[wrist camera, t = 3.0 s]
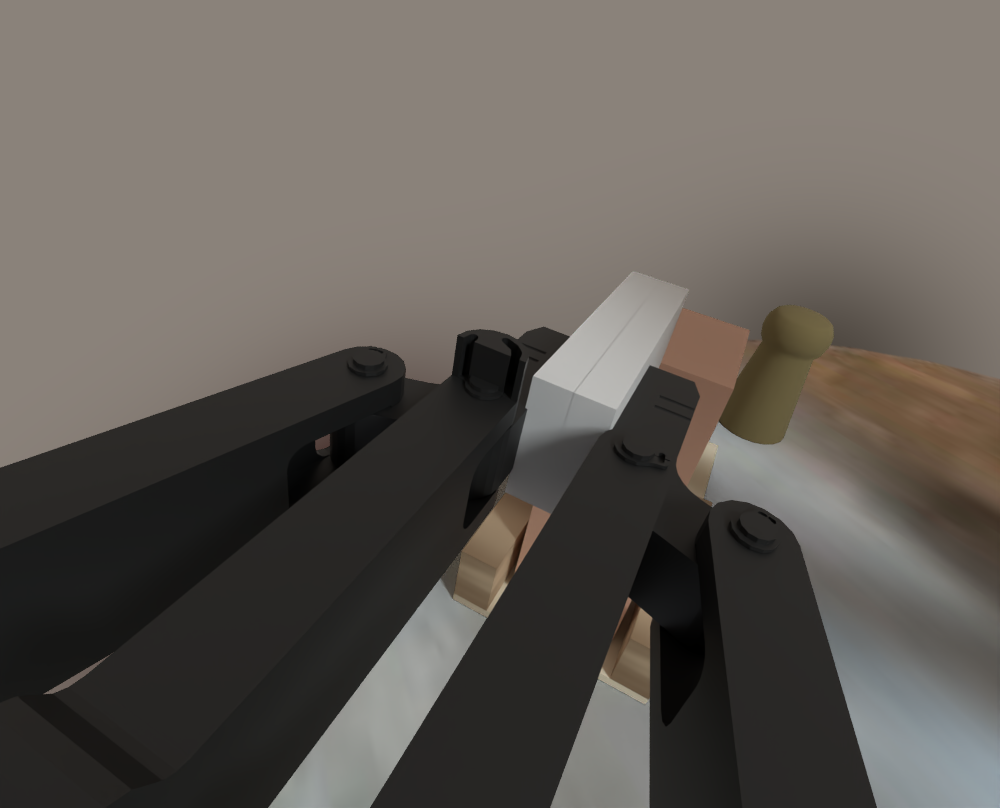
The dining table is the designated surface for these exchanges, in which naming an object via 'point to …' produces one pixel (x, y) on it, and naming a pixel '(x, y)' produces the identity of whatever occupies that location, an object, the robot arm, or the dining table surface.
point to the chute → (494, 565)
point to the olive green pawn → (776, 374)
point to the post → (714, 368)
